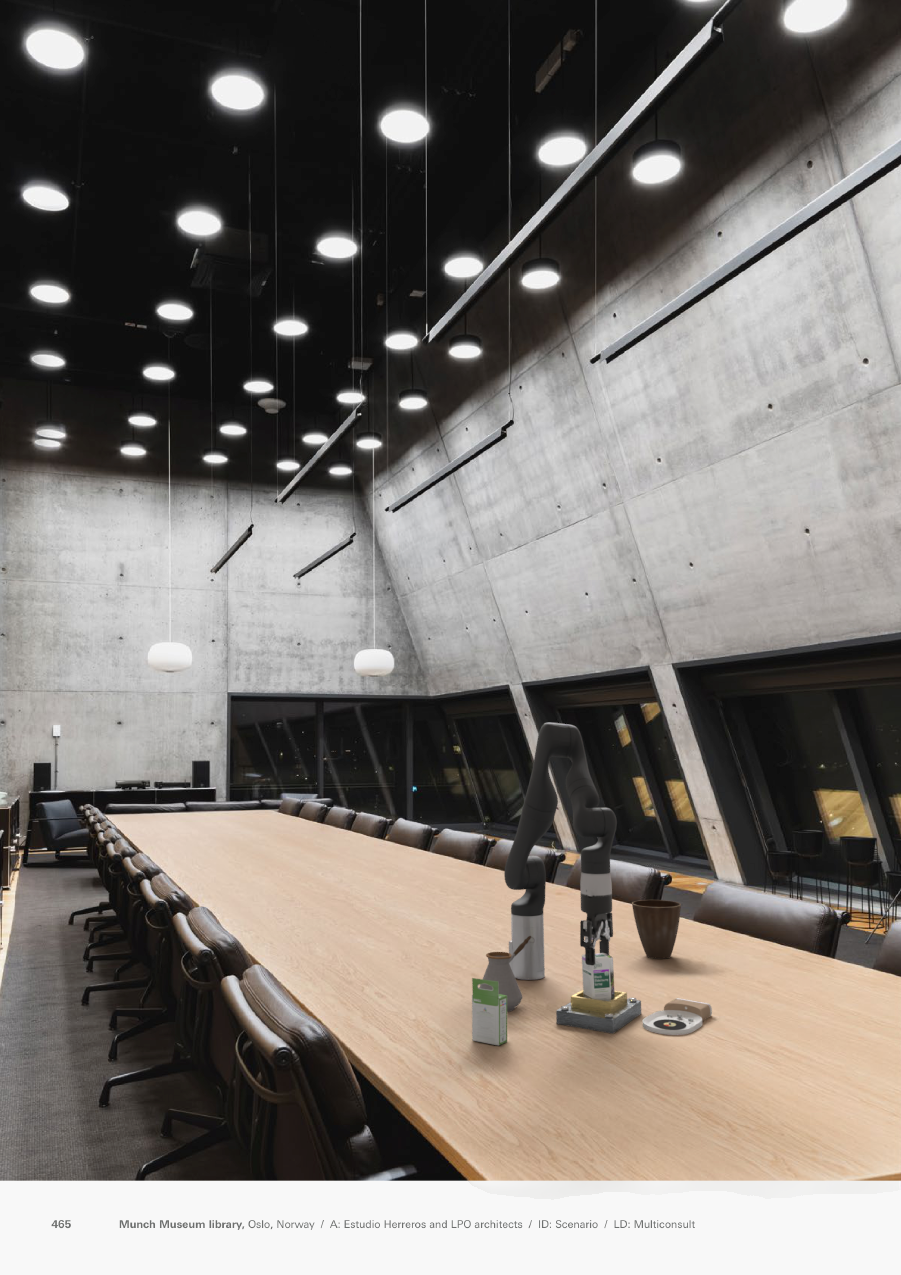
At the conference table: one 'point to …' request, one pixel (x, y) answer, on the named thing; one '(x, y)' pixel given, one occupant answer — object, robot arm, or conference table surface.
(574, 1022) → the square socket fixture
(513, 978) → the coffee pot
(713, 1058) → the conference table surface
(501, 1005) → the ink box
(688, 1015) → the record player
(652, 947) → the plant pot
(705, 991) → the conference table surface
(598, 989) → the syrup box
